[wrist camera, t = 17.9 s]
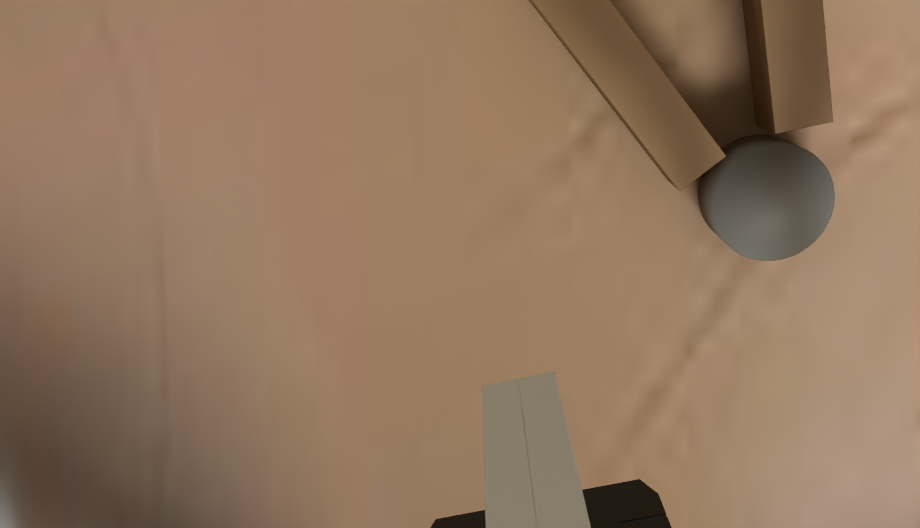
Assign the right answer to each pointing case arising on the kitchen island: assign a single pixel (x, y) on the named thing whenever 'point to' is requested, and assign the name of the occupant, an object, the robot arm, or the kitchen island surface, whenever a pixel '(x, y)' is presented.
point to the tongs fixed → (776, 139)
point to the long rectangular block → (633, 86)
